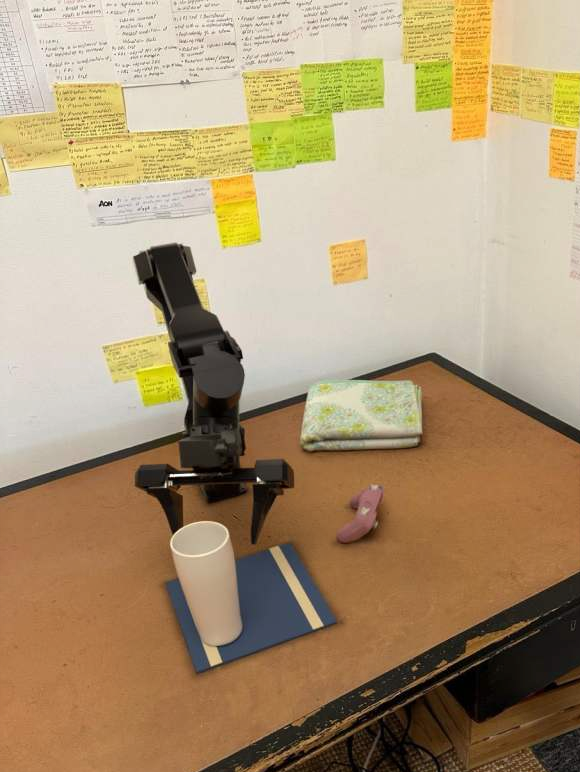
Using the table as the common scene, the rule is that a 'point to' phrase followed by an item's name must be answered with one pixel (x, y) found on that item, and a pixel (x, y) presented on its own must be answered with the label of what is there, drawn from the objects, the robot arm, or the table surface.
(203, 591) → the white tapered cup
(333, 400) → the towel
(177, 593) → the cloth
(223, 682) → the table surface
